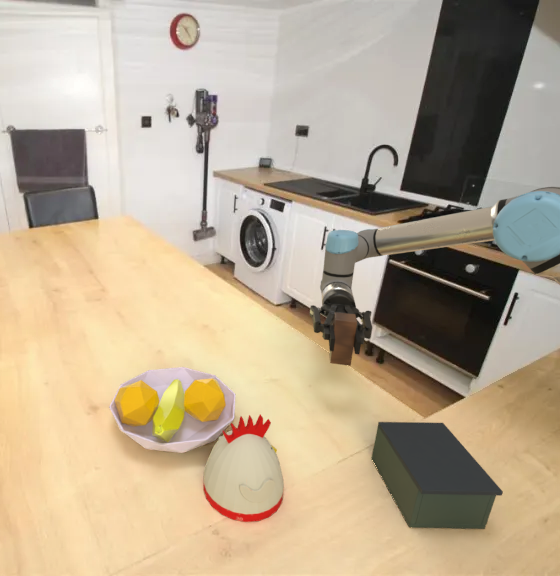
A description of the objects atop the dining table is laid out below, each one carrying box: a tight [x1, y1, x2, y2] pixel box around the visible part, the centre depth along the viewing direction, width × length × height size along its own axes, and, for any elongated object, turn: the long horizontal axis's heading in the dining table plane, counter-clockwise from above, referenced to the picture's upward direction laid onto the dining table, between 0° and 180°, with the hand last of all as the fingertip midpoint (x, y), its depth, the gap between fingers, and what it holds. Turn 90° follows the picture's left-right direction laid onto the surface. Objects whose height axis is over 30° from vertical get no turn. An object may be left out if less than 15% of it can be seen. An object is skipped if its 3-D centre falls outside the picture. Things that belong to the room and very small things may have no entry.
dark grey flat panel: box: [377, 421, 504, 496], centre depth 68 cm, size 15×12×1 cm
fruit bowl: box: [108, 366, 236, 454], centre depth 86 cm, size 28×27×11 cm
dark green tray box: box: [371, 425, 497, 530], centre depth 70 cm, size 15×12×8 cm
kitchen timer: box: [203, 414, 285, 523], centre depth 70 cm, size 14×14×15 cm
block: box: [329, 312, 358, 366], centre depth 85 cm, size 4×4×10 cm
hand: (345, 346), depth 80 cm, fingers closed on block, 4 cm apart
